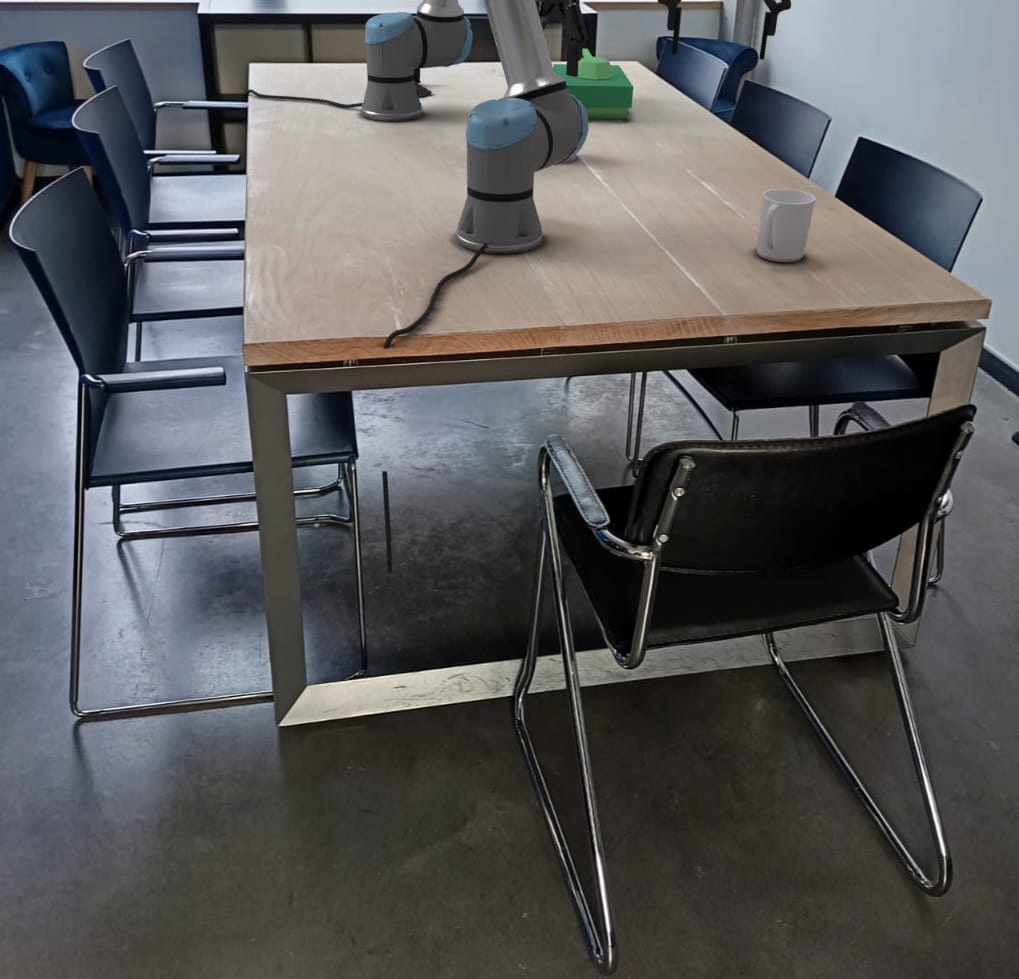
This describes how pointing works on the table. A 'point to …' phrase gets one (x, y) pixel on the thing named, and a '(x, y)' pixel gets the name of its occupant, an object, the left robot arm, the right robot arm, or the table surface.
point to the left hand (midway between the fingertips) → (551, 79)
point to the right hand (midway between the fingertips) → (717, 55)
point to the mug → (784, 224)
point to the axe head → (420, 89)
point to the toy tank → (599, 87)
